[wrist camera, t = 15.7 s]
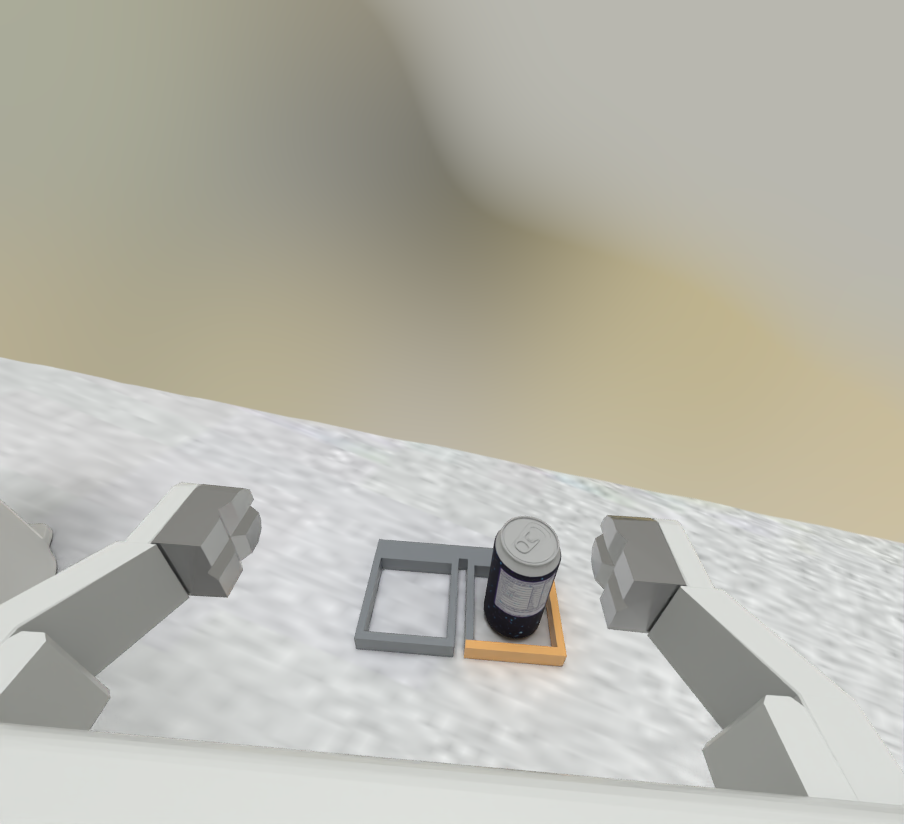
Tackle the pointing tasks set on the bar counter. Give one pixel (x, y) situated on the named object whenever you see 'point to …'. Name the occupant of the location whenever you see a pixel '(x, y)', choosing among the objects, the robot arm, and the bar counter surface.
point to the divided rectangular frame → (450, 606)
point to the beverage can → (521, 575)
